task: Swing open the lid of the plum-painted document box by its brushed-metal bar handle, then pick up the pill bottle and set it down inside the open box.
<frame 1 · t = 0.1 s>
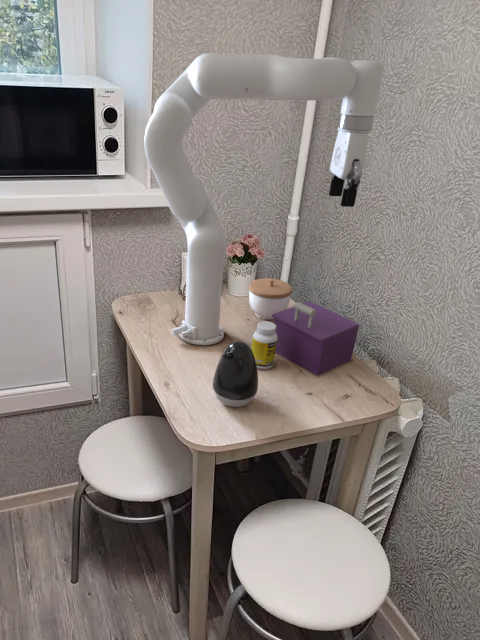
hand: (340, 200, 128), 37 cm above the table, tool pointing down, fingers open, 9 cm apart
file box lid: (316, 311, 132), point 13 cm above the table, hinge at 0.0°
pill bottle: (261, 364, 135), on the table
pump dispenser: (233, 401, 120), on the table
lidded bowl: (267, 314, 159), on the table
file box: (309, 354, 139), on the table
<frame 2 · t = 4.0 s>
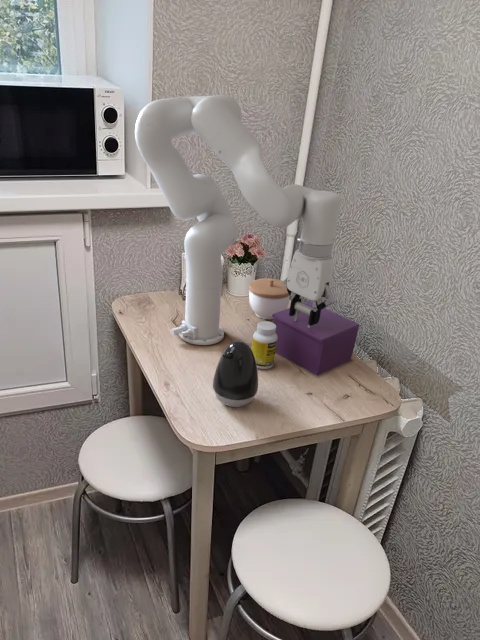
hand: (303, 318, 130), 12 cm above the table, tool pointing down, fingers closed on file box lid, 5 cm apart
file box lid: (316, 311, 132), point 13 cm above the table, hinge at 0.0°, touching gripper
everything else where it was.
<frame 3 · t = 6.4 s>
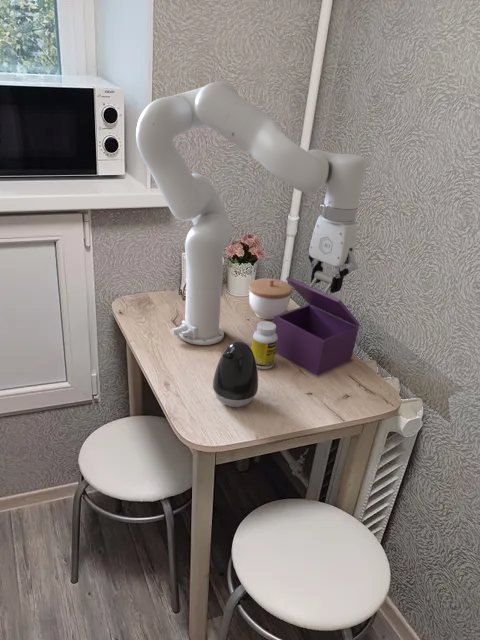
hand: (325, 286, 130), 19 cm above the table, tool pointing down, fingers closed on file box lid, 5 cm apart
file box lid: (328, 293, 132), point 17 cm above the table, hinge at 41.2°, touching gripper
everything else where it was.
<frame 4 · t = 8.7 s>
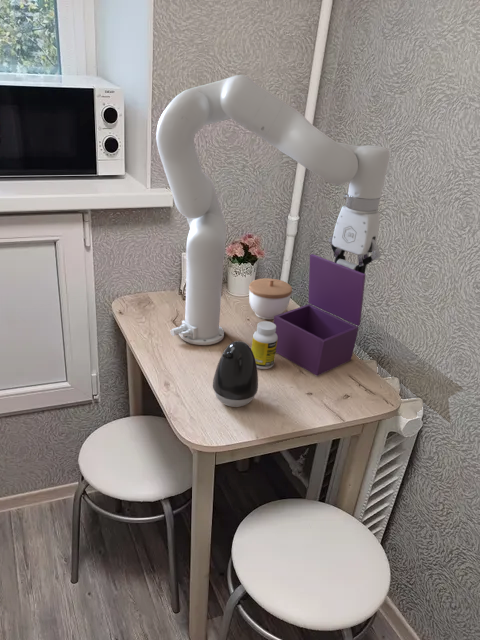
hand: (347, 275, 133), 20 cm above the table, tool pointing down, fingers closed on file box lid, 5 cm apart
file box lid: (341, 285, 134), point 18 cm above the table, hinge at 78.6°, touching gripper
everything else where it was.
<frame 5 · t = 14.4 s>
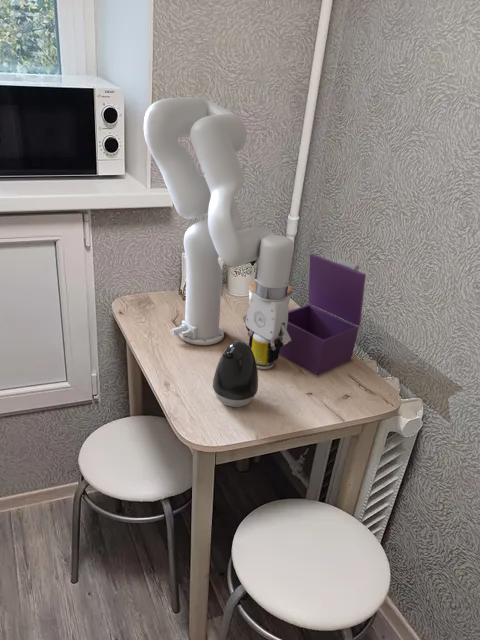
hand: (262, 354, 133), 3 cm above the table, tool pointing down, fingers closed on pill bottle, 6 cm apart
file box lid: (341, 285, 134), point 18 cm above the table, hinge at 78.8°
pill bottle: (261, 364, 135), on the table, touching gripper
everything else where it was.
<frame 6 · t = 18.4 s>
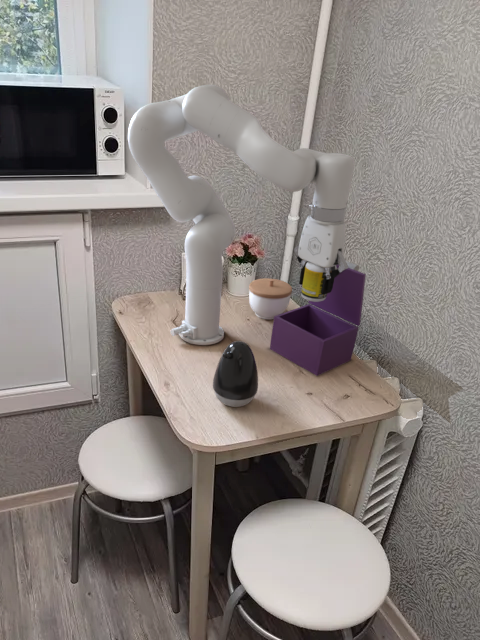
hand: (315, 287, 127), 20 cm above the table, tool pointing down, fingers closed on pill bottle, 6 cm apart
pill bottle: (313, 298, 129), point 17 cm above the table, touching gripper
everything else where it was.
when the fingers open (4 cm above the table, at t = 22.6 s): pill bottle stays where it is, resting on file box.
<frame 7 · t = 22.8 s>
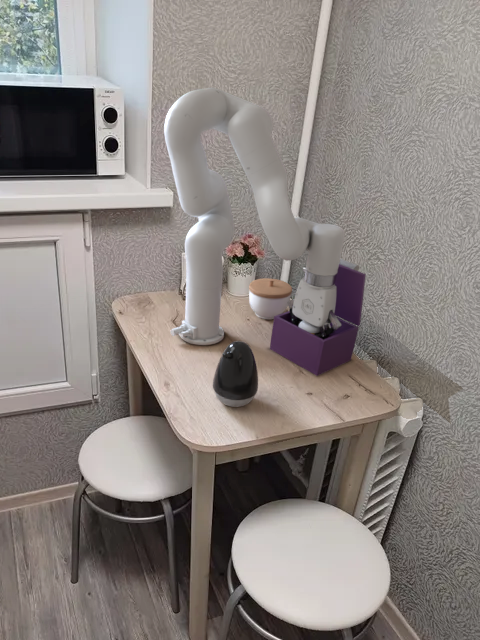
hand: (308, 340, 136), 5 cm above the table, tool pointing down, fingers open, 8 cm apart
pill bottle: (305, 354, 138), point 1 cm above the table, touching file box
everything else where it was.
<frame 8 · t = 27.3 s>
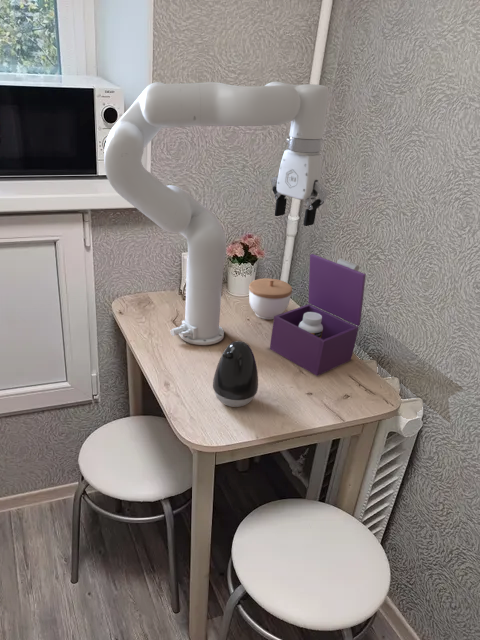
hand: (293, 220, 131), 32 cm above the table, tool pointing down, fingers open, 9 cm apart
nothing on the table moved.
at the end: file box lid at +79° (first picture: +0°); pill bottle inside the target area in the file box (1.6 cm from its centre), point 0.6 cm above the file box's base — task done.
